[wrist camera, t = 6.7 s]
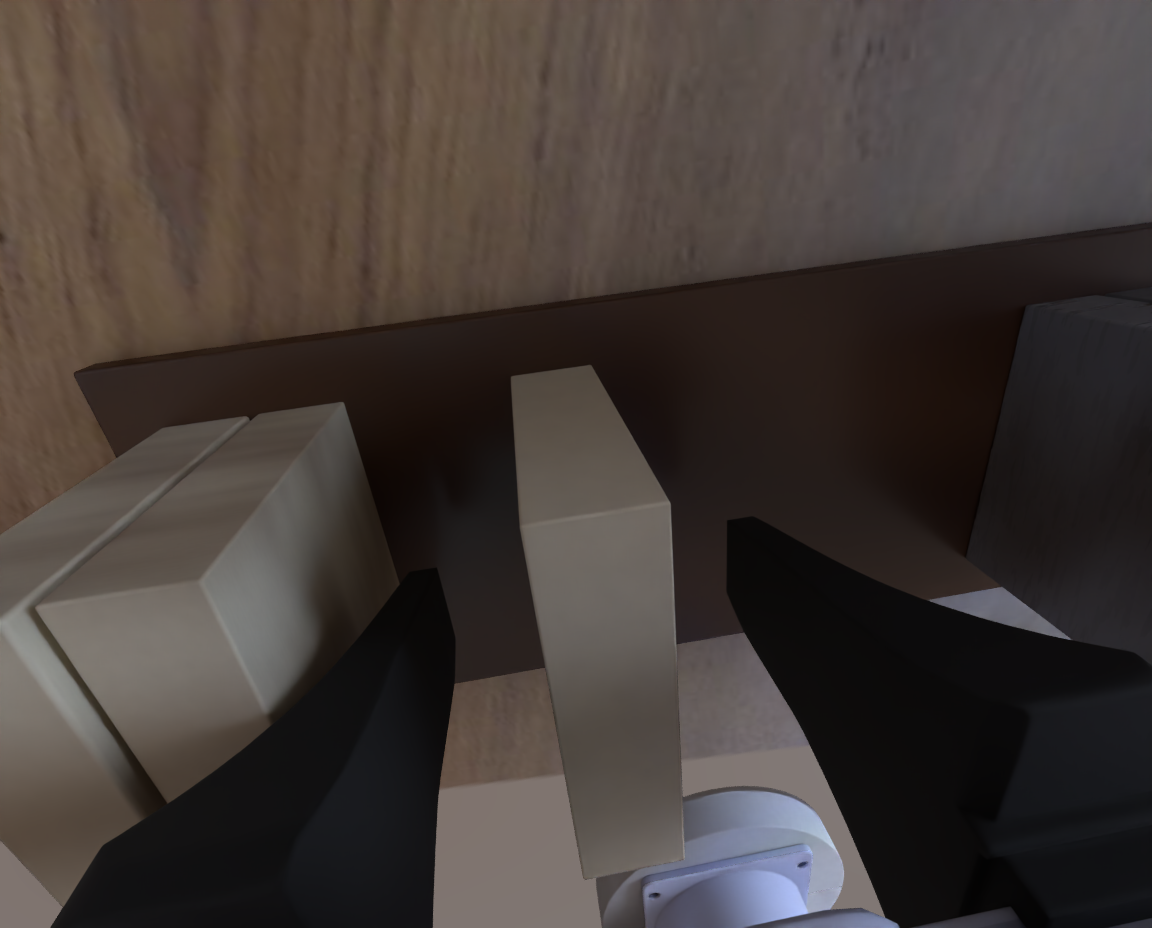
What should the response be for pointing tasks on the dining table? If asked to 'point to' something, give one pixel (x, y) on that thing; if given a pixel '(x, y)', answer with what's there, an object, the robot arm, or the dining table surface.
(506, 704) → the dining table surface
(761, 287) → the book rack
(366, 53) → the dining table surface
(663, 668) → the beige flat block
